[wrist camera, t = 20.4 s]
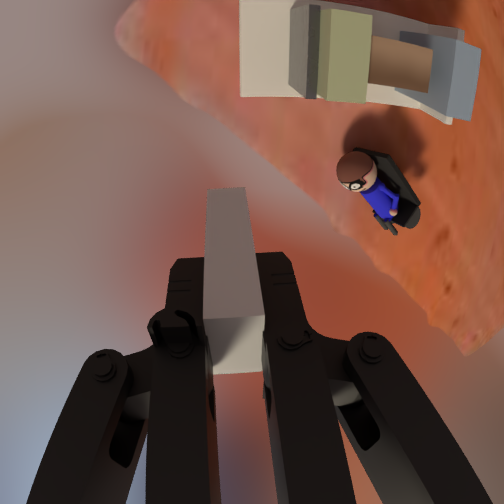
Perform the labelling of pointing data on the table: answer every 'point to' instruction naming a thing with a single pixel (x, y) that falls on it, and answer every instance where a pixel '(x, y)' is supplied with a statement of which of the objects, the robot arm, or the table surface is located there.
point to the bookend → (304, 49)
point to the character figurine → (380, 187)
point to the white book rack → (277, 48)
